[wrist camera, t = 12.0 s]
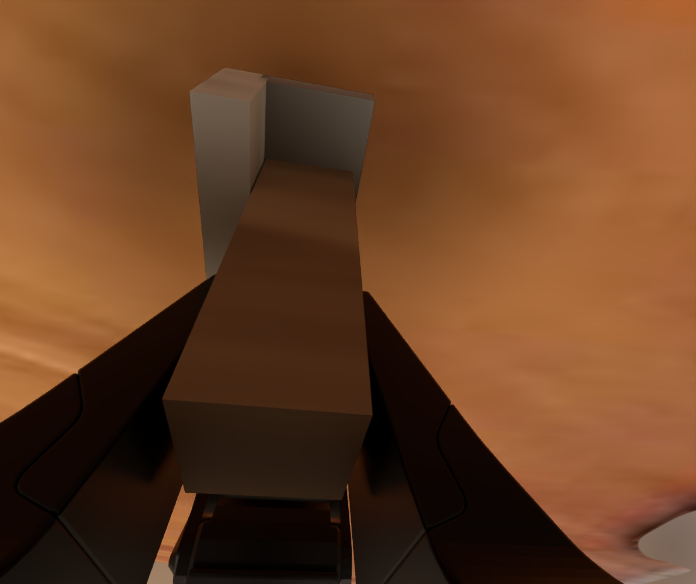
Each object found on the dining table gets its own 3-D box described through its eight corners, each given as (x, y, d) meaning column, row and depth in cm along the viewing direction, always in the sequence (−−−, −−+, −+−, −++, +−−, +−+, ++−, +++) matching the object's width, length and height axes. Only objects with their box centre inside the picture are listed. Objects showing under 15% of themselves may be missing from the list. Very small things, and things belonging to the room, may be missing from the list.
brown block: (338, 277, 14) (338, 541, 7) (231, 264, 14) (126, 534, 7) (372, 94, 10) (442, 298, 3) (225, 67, 10) (-39, 242, 3)
